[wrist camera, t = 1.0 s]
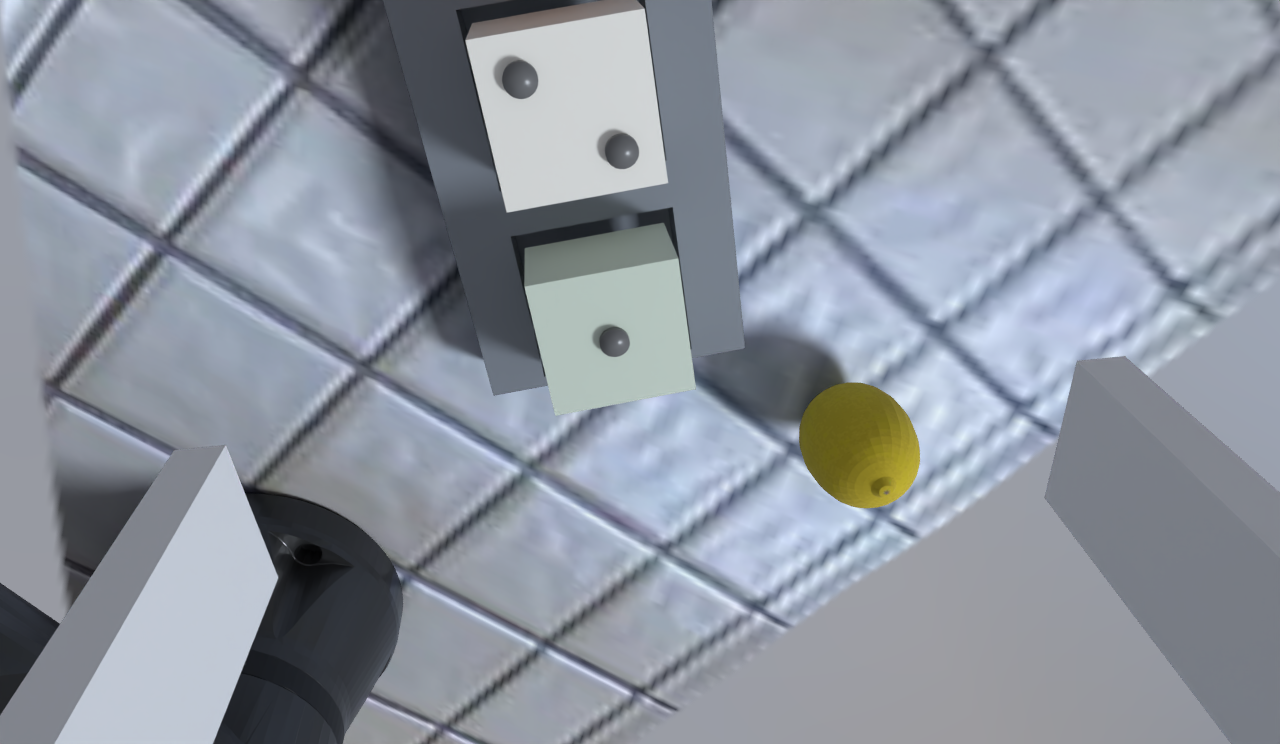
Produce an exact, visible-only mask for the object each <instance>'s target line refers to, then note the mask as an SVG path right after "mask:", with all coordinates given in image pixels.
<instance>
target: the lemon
mask: <svg viewBox="0 0 1280 744" xmlns="http://www.w3.org/2000/svg"><path fill="white" fill-rule="evenodd" d="M799 443H800V449H801V452H802V455H803V458H804V462H805V464H806V466H807V468H808V470H809V471H810V473H811V474H812V476H813V477H814V478H815V480H816V481H817V482H818V484H819V485H820V486H821V487H822V488H823V489H824V490H825V491H826V492H827V493H829V494H830V495H831V496H833V497H834V498H835V499H837V500H838V501H840V502H842V503H845V504H847V505H850V506H853V507H858V508H875V507H880V506H884V505H887V504H889V503H891V502H893V501H895V500H897V499H898V498H899V497H901V496H902V495H903V494H904V493H905V492H906V491H907V490H908V489H909V488H910V486H911V485H912V483H913V481H914V479H915V478H916V475H917V472H918V468H919V464H920V450H919V442H918V438H917V435H916V433H915V430H914V428H913V425H912V423H911V421H910V418H909V417H908V415H907V414H906V412H905V411H904V410H903V409H902V408H901V406H900V405H899V404H898V403H897V402H896V401H895V400H894V399H893V398H892V397H891V396H889V395H888V394H886V393H885V392H883V391H881V390H880V389H878V388H876V387H874V386H870V385H867V384H863V383H843V384H837V385H835V386H832V387H830V388H827V389H826V390H824V391H823V392H821V393H820V394H818V395H817V396H816V397H815V398H814V399H813V400H812V401H811V402H810V403H809V405H808V407H807V408H806V410H805V412H804V414H803V417H802V420H801V423H800V428H799Z"/></svg>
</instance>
